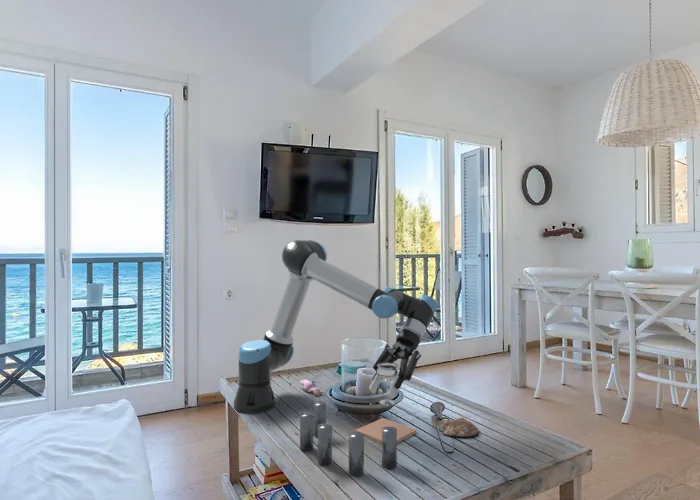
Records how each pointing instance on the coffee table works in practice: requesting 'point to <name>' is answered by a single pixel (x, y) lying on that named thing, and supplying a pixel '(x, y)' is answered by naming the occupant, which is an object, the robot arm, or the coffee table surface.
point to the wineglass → (387, 377)
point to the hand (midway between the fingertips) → (380, 393)
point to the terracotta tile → (375, 428)
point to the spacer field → (318, 428)
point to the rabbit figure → (311, 387)
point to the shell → (459, 429)
